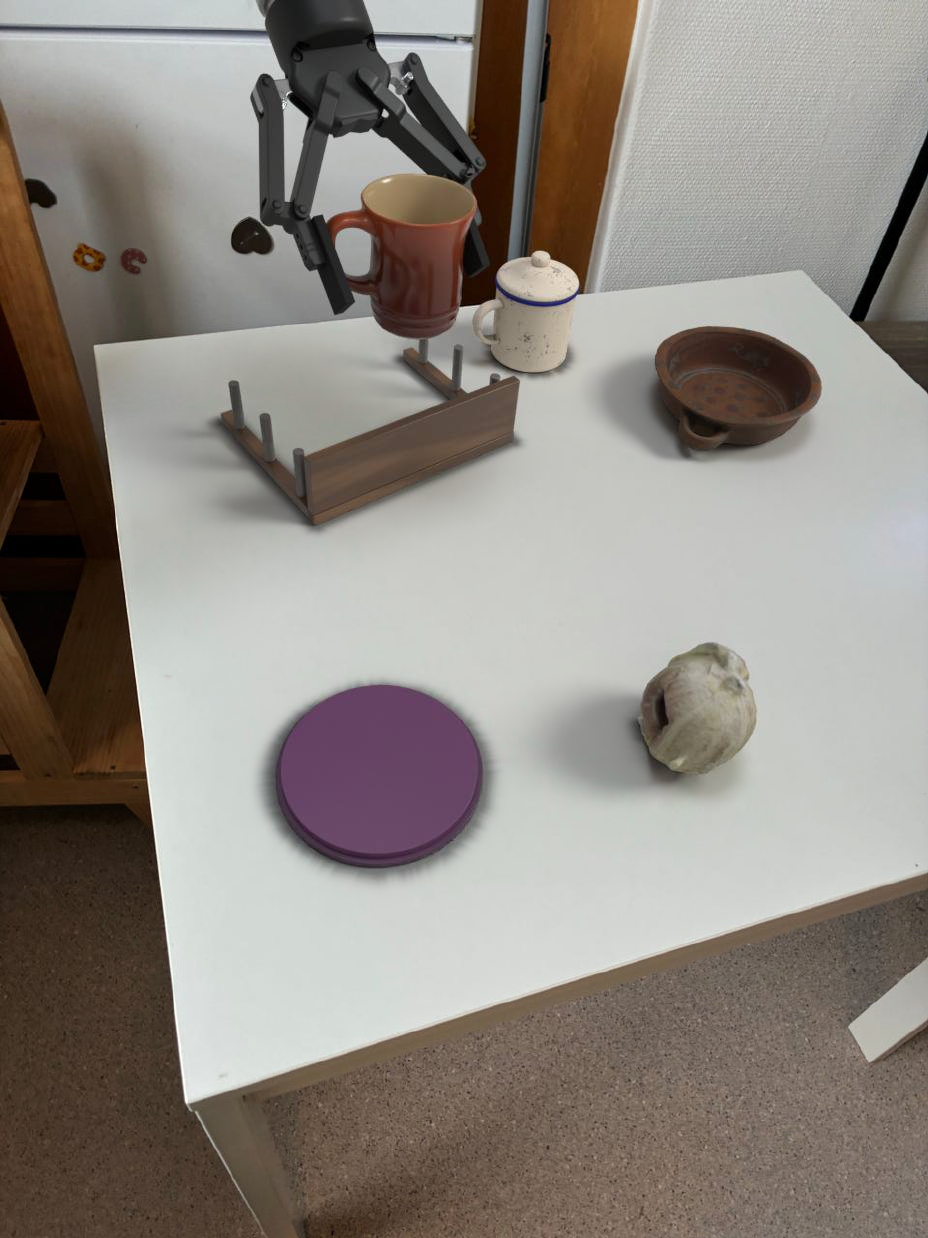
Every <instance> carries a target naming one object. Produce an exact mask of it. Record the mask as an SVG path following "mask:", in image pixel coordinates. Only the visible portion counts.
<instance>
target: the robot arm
mask: <svg viewBox="0 0 928 1238" xmlns="http://www.w3.org/2000/svg"><path fill="white" fill-rule="evenodd" d="M255 3H256V6H257V8H258V10H259V13H260V14H261V16H262V17H263V18H264V27H265V30H266V33H267V36H268V39H269V41H270V44H271V46H272V49H273V52H274V54H275V57H276V61H277V62H278V65H279V67H280V69H281V71H282V72H283V74H284V78H279V79H274V78H273V76H272V75H270V74H268V73H265V72H263V73H261V74H260V75H259V76H258V78H257V80H256V82H255V84H254V87H253V88H252V91H251V92H250V96H249V100H250V103H251V106H252V108H253V112H254V114H255V115H254V116H255V117H256V120H257V123H258V181H259V182H258V185H259V187H258V188H259V189H258V190H259V196H258V197H259V220H260V222H261V224H262V225H263V226H265V227H266V228H267V227H269V228H271V227H273V226H280V227H282V229H283V231H284V232H285V233H286V234H288V235H291V236H292V238H293V239H294V242H295V245H296V247H297V249H298V252H299V255H300V258H301V260H302V263H303V265H304V267H305V268H306V270H307V271H308V272H314V271H317V273H318V276H319V278H320V281H321V283H322V287H323V289H324V291H325V294H326V297H327V300H328V302H329V304H330V307H331V310H332V312H333V315H334V316H337V315H342V314H344V313H345V312H346V311H347V310H348V309H349V308H350V307H352V306H353V305H354V304H355V303H356V300H355V297H354V295H353V291H351V289H350V286H349V283H348V281H347V278H346V275H345V273H346V272H345V270H344V268H343V264H342V263H341V259H340V256H339V253H338V252H337V249H336V245H335V246H334V243H333V241H332V238H331V235H330V233H329V230H328V227H327V225H326V222H327V221H326V220H325V217H324V214H323V213H322V214H318V215H313V216H312V217H311V212H312V209H313V204H314V201H315V196H316V191H317V188H318V187H317V186H318V183H319V178H320V175H321V170H322V165H323V161H324V157H325V153H326V148H327V144H328V139H329V135H330V136H332V138H333V139H337V138H342V137H344V136H346V135H348V134H350V133H354V134H363V133H369V132H370V131H371V130H372V131H373V132H374V133H375V134H377V136H379V137H380V138H381V139H387V140H389V141H390V143H392V144H393V145H394V146H396V148H397V149H399V151H401V152H402V153H403V154H404V155H405V156H406V157H407V158H408V159H409V160H410V161H412V162H413V163H414V164H415V165H416V166H417V167H418V168H420V170H422V172H424V174H427V175H433V176H438V177H443V178H446V179H449V180H452V181H454V182H457V183H459V184H461V185H463V186H464V187H466V188H467V189H468V190H470V191H471V192H472V193H473V195H474V196H475V194H474V192H473V188H472V181H473V180H474V178H476V177H477V176H478V175H479V174H480V173H481V172H482V171H483V170H485V168H486V166H487V161H486V159H485V157H484V155H483V154H482V152H481V151H480V150H479V149H478V147H477V146H476V145H475V143H474V142H473V140H472V139H471V138H470V136H469V135H468V133H467V132H466V131H465V129H464V127H462V125H461V124H460V122H459V120H457V118H456V117H455V115H454V114H453V112H452V111H451V110H450V108H449V107H448V105H447V104H446V102H445V101H444V100H443V98H442V97H441V96H440V94H439V93H438V91H437V90H436V89H435V87H434V85H432V83H431V81H430V80H429V78H428V74H427V72H426V70H425V67H424V64H423V61H422V59H421V57H420V55H419V54H417V53H416V52H414V51H413V52H412V51H411V52H408V54H407V55H406V56H405V58H404V59H403V60H399V61H395V62H389V63H388V62H387V61H386V60H385V59H384V58H383V56H381V54H380V52H379V49H378V48H377V43H376V37H375V30H374V27H373V24H372V20H371V18H370V16H369V13H368V10H367V7H366V4H365V1H364V0H255ZM390 85H392V86H393V87H394V92H395V93H394V92H393V91H392V90H391V89H390ZM398 96H401V97H402V98H403V101H404V102H405V103H404V102H403V101H402V100H401V99H400V98H399V97H398ZM288 101H289V102H290V104H292V105H293V106H295V108H297V109H298V111H300V112H301V113H302V114H303V115H304V116H305V117H306V118H307V121H306V125H305V129H304V134H303V138H302V147H301V152H300V156H299V160H298V164H297V169H296V172H295V177H294V182H293V185H292V189H291V194H290V197H289V201H286V192H285V191H286V189H285V187H286V183H285V181H286V180H285V179H286V178H285V174H286V173H285V115H284V114H285V113H284V112H285V110H286V108H287V106H288ZM407 108H408V109H409V111H410V112H411V113H412V114H413V116H412V115H411V114H410V113H409V112H408V110H407ZM384 110H385V111H386V112H387V116H386V117H385V116H383V113H384ZM414 117H415V118H414ZM482 220H483V219H482V214H481V211H480V209H479V205H478V204H477V209H476V212H475V215H474V217H473V219H472V222H471V224H470V227H469V230H468V233H467V236H466V239H465V244H464V251H463V270H464V271H463V272H465V276H466V279H470V278H473V277H476V276H477V275H479V274H480V273H481V272H482V271H484V270H485V269H487V268H488V267H490V266H491V262H490V259H489V256H488V254H487V251H486V248H485V245H484V242H483V239H482V236H481V233H480V230H479V228H478V227H479V226H480V225H482V222H483V221H482ZM344 272H345V273H344Z"/></svg>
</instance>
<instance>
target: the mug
mask: <svg viewBox="0 0 928 1238" xmlns="http://www.w3.org/2000/svg"><path fill="white" fill-rule="evenodd" d="M473 194H474V192H473V193H472V192H471V191H470V190H468V189H467V188H466V187H464V186H463V185H461V184H459V183H457V182H454V181H452V180H449V179H446V178H443V177H438V176H433V175H427V174H426V173H398V174H391V175H387V176H382V177H380V178H377V179H375V180H372V181H371V182H370V183H368V184H367V185H366V186H365V187H364V188H363V189H362V190H361V193H360V202H361V207H360V209H355V210H350V211H344V212H340V213H339V212H338V213H336V214H334V215H333V216H331V217H330V218H329V219H327V221H325V222H326V225H327V227H328V230H329V233H330V235H331V238H332V241H333V243H334V246H335V247H336V239H337V236H338V234H339V233H340V232H341V231H343V230H347V229H358V230H362V231H363V232H366V233H367V234H369V236H370V257H369V258H370V260H369V262H370V263H369V269H368V271H367V272H366V273H364V274H361V275H353V274H349V273H346V272H345V271H344V273H345V275H346V278H347V281H348V283H349V286H350V289H351V291H352V293H355V294H359V295H362V296H369V299H370V307H371V310H372V315H373V318H374V320H375V322H376V323H377V325H379V326H380V327H381V329H383V330H384V331H386V332H387V333H389V334H391V335H393V336H396V337H399V338H402V339H407V340H416V341H417V340H418V341H419V340H420V339H432V338H436V337H439V336H442V335H443V334H445V333H447V332H448V331H449V330H451V329H452V327H454V325H455V323H456V321H457V317H458V314H459V312H460V305H461V303H462V288H463V274H464V271H463V270H464V268H463V251H464V244H465V239H466V236H467V233H468V230H469V227H470V224H471V222H472V219H473V217H474V215H475V212H476V209H477V205H478V201H477V198H476V196H475V194H474V195H473Z"/></svg>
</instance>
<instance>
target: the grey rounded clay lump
mask: <svg viewBox="0 0 928 1238" xmlns="http://www.w3.org/2000/svg"><path fill="white" fill-rule="evenodd" d="M749 679H750V672H749V668H748V667H747V664H746V661H745V660H744V658H742V657H741V656H740V655H739V654H738V653H737V652H735V651H734V650H733V649H731V648H729V647H728V646H727V645H726V646H725V645H723V644H721V643H719V642H714V641H708V642H704V643H701V644H698V645H696V646H695V647H693V648H692V649H690V650H688V651H686V652H684V653H681V654H678V655H677V654H676V656H674V657H672V658H671V659H670V660H669V661H668V663H667V666H666V667H664V668H663V669H661V670H660V671H659V672H658V673H656V674H655V675H654V676H653V677H652V678H651V679H650V680H649V681H648V682H647V684H646V686H645V688H644V690H643V692H642V698H641V701H640V713H641V715H640V716H639V717H638V718H637V721H638V724H639V725H640V727H639V728H640V734H641V736H642V737H643V740H644V741H645V743H646V745H647V746H648V751H649V753H650V755H651V756H652V758H654V759H655V760H657V761H658V762H660V763H661V764H664V765H666V766H667V767H668V769H669V770H670V771H673V772H675V771H676V772H679V773H680V772H681V773H684V774H687V775H688V776H695V777H696V776H698V775H705V774H708V773H709V772H711V771H712V770H713V769H715V768H718V767H720V766H721V765H725V764H726V763H727V762H729V761H730V760H731V759H733V758H734V757H735V756H736V755H737V754H738V753H740V751H741V750H743V748H744V747H745V746H746V744H747V743H748V741H749V740H750V739H751V737H752V735H753V734H754V732H755V729H756V726H757V713H758V711H757V704H756V702H755V701H756V700H755V695H754V691H753V690H752V688H751V686H750V685H749V683H748V682H749Z"/></svg>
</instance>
